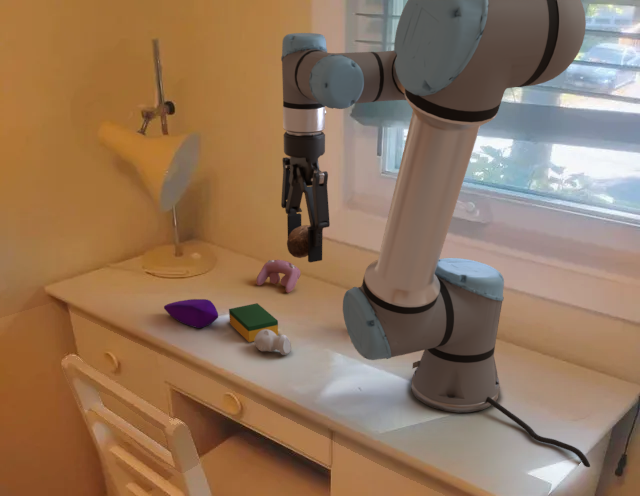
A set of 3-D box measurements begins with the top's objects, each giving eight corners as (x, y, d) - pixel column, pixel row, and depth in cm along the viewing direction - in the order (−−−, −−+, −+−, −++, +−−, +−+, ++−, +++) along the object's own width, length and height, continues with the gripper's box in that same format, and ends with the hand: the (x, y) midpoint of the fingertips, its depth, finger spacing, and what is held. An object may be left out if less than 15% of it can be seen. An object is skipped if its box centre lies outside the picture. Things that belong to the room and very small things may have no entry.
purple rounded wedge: (169, 292, 154) (223, 300, 146) (173, 314, 156) (227, 323, 149) (154, 300, 150) (208, 308, 143) (158, 321, 153) (212, 331, 145)
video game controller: (298, 295, 167) (305, 265, 165) (288, 292, 162) (295, 262, 161) (263, 286, 171) (270, 257, 170) (253, 284, 167) (260, 254, 166)
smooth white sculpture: (251, 353, 141) (269, 338, 143) (278, 365, 136) (297, 350, 138) (245, 336, 138) (263, 321, 140) (272, 348, 133) (291, 333, 135)
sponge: (278, 335, 145) (277, 320, 143) (249, 342, 142) (248, 327, 140) (258, 317, 152) (257, 303, 150) (229, 323, 150) (228, 308, 148)
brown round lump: (333, 232, 142) (317, 210, 137) (330, 260, 137) (312, 238, 133) (300, 247, 146) (283, 225, 141) (296, 274, 141) (278, 253, 137)
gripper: (351, 140, 122) (347, 267, 134) (296, 119, 137) (297, 235, 150) (313, 145, 119) (312, 274, 131) (261, 122, 134) (265, 240, 147)
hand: (304, 253), depth 140 cm, fingers closed on brown round lump, 8 cm apart
